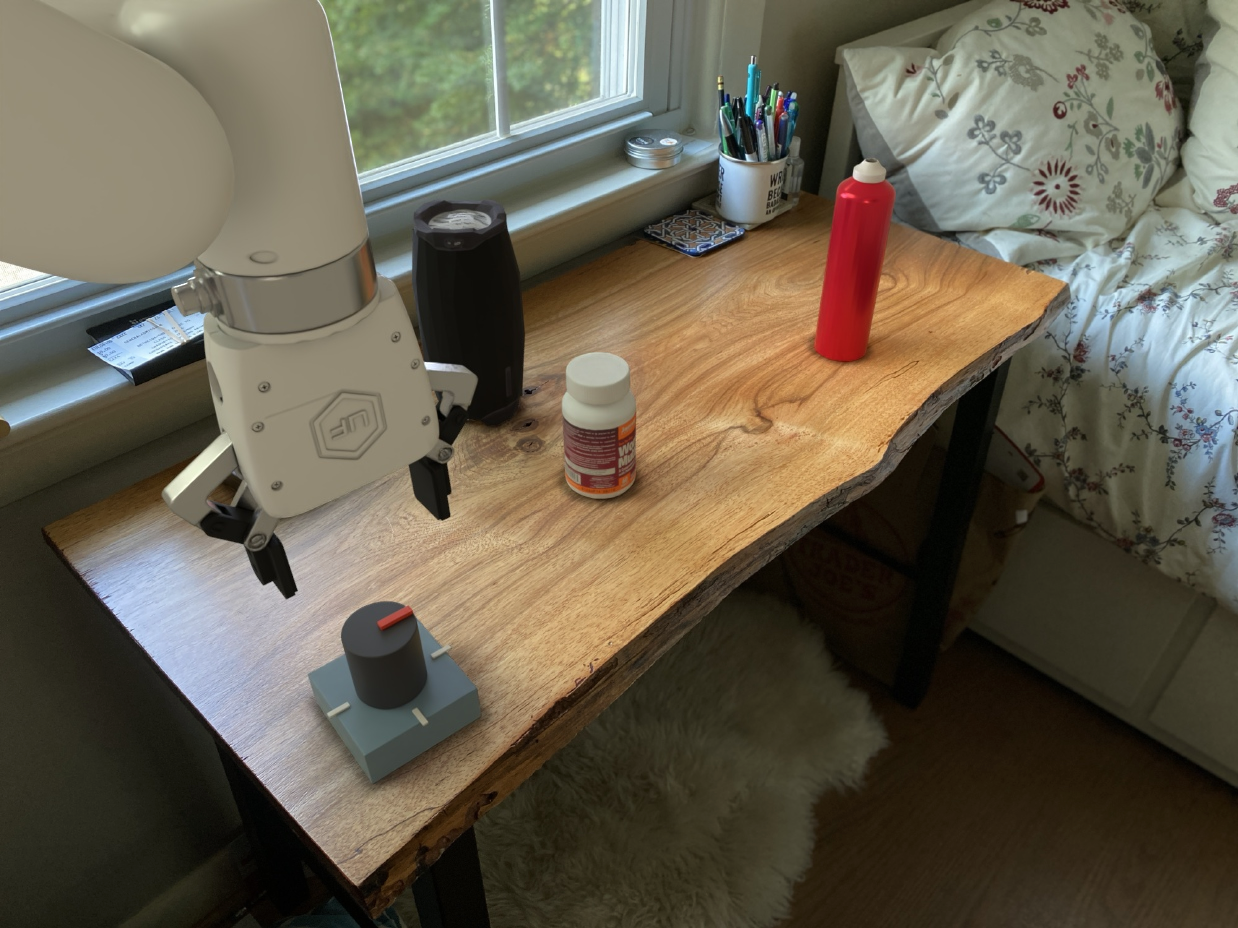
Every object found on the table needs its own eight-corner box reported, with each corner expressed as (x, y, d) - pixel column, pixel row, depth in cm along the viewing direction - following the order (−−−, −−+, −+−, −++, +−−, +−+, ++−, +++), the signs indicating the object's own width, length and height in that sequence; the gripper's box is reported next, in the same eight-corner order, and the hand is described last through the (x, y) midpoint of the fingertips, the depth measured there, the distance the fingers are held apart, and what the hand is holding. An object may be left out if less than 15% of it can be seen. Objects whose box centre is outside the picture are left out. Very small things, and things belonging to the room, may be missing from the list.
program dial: (376, 722, 58) (361, 666, 54) (342, 676, 61) (326, 620, 57) (440, 684, 60) (430, 628, 57) (405, 641, 63) (393, 586, 60)
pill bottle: (633, 503, 79) (635, 391, 72) (561, 500, 79) (555, 388, 72) (637, 458, 83) (638, 349, 76) (568, 455, 84) (564, 347, 77)
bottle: (803, 341, 99) (829, 156, 87) (844, 330, 101) (876, 146, 89) (834, 366, 95) (866, 175, 83) (877, 353, 97) (914, 165, 85)
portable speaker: (421, 396, 91) (389, 205, 79) (510, 372, 94) (493, 185, 82) (449, 443, 85) (420, 243, 73) (543, 416, 88) (531, 220, 76)
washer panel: (369, 792, 57) (360, 762, 55) (308, 701, 63) (298, 671, 61) (490, 716, 62) (485, 686, 60) (423, 638, 67) (417, 607, 65)
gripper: (126, 377, 37) (241, 659, 47) (493, 249, 45) (520, 512, 56) (72, 306, 41) (188, 577, 52) (415, 201, 50) (454, 453, 60)
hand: (360, 543), depth 54 cm, fingers open, 9 cm apart
